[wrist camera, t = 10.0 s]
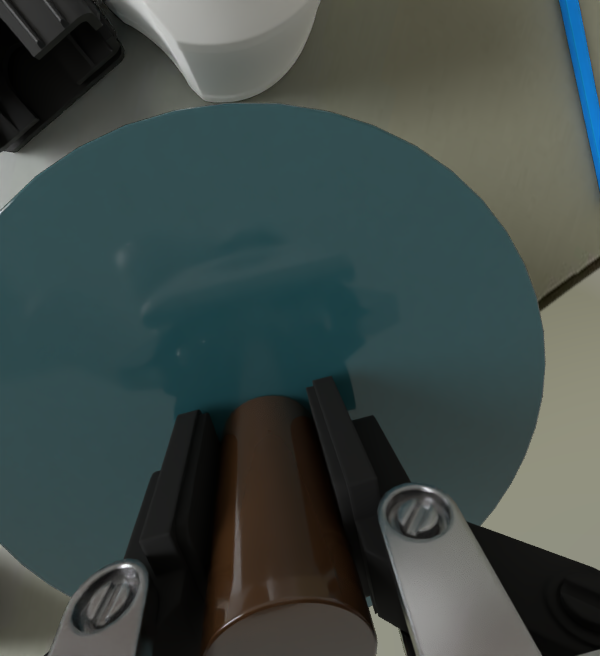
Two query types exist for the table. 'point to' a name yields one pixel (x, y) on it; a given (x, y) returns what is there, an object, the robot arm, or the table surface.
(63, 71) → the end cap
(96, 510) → the lid
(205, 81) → the jar
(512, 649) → the robot arm
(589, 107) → the pen
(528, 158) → the table surface
